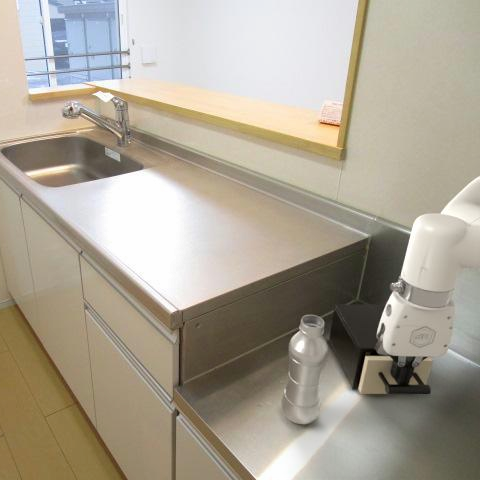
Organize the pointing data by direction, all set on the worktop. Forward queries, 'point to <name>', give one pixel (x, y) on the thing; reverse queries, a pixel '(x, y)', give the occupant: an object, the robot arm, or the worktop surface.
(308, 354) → the plastic bottle
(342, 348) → the black rectangular box
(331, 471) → the worktop surface
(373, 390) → the beige drawer
